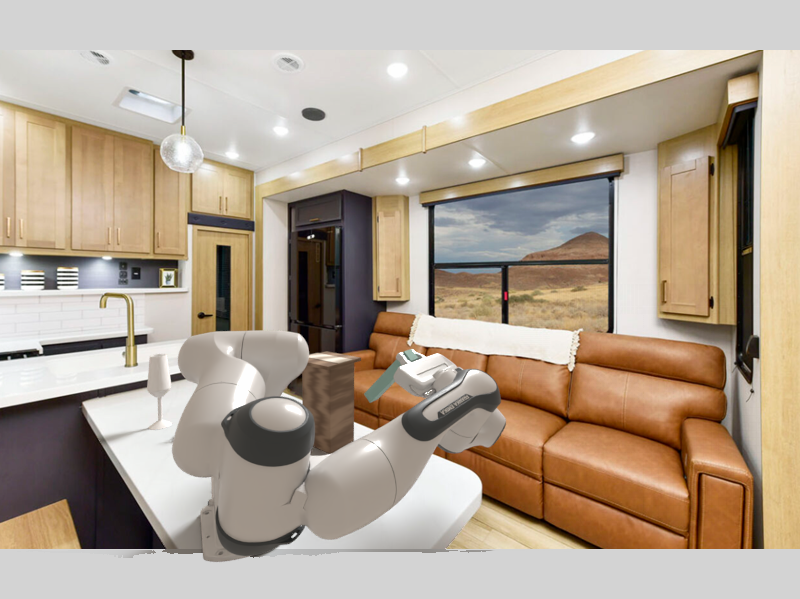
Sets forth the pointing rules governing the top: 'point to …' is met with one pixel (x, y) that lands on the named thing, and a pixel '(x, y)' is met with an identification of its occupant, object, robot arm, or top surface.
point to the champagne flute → (159, 385)
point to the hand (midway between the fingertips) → (403, 353)
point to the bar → (387, 378)
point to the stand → (330, 398)
